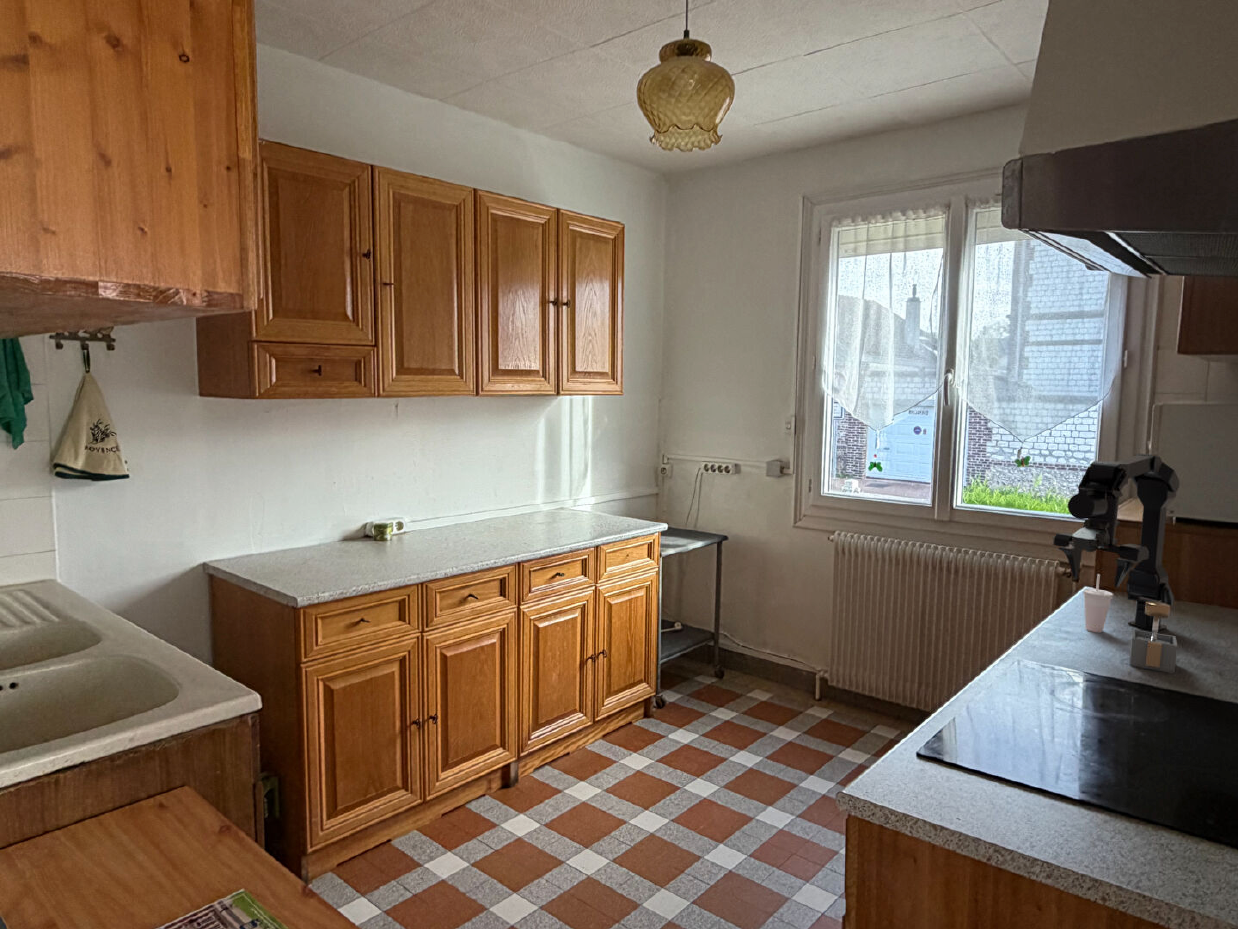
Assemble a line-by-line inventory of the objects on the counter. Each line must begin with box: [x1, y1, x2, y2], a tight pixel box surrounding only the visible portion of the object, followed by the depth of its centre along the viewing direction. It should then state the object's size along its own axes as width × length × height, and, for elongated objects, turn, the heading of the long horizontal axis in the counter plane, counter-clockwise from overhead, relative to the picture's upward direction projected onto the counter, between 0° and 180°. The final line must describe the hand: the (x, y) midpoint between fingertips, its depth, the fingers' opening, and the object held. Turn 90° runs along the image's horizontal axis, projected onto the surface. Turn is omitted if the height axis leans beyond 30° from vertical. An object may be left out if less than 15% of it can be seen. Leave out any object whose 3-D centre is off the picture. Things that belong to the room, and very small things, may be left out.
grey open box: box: [1128, 629, 1178, 674], centre depth 174 cm, size 9×8×6 cm
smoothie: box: [1082, 573, 1114, 633], centre depth 198 cm, size 6×6×14 cm
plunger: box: [1136, 601, 1171, 644], centre depth 174 cm, size 6×6×9 cm
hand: (1095, 582), depth 186 cm, fingers open, 9 cm apart
